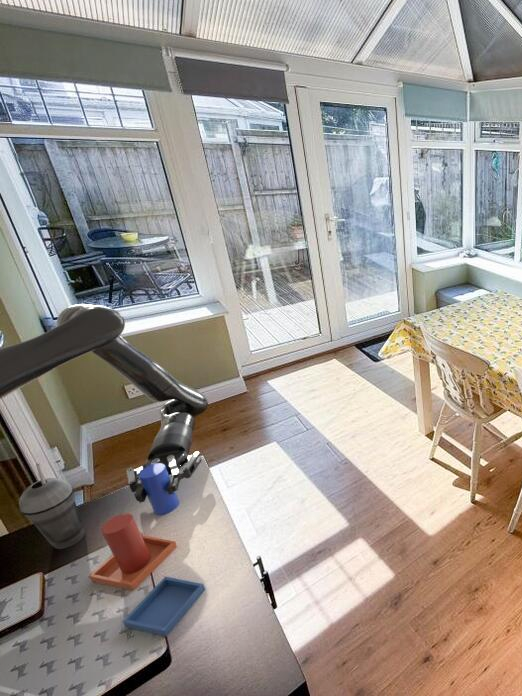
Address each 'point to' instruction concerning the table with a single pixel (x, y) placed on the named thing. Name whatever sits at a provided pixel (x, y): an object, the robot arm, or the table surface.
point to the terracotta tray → (114, 577)
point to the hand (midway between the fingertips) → (155, 495)
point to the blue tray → (164, 606)
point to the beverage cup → (53, 510)
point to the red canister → (126, 543)
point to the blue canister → (158, 488)
